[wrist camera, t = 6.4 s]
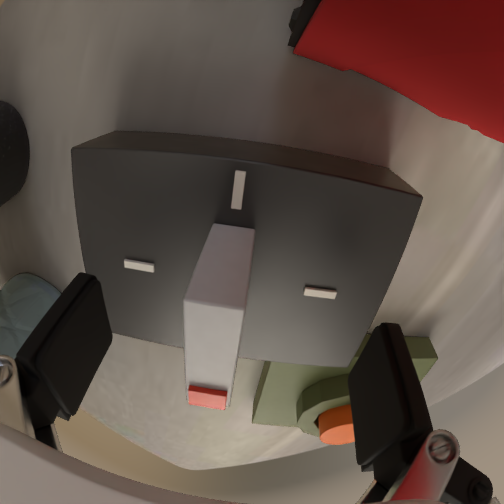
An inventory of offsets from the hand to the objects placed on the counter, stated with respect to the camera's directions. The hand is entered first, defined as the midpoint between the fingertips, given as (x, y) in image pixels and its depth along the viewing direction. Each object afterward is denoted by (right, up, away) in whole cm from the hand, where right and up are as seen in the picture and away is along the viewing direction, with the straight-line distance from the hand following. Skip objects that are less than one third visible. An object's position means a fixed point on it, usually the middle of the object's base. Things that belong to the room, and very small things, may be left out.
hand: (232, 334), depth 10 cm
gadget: (0, +4, +6) cm, 7 cm away
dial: (0, +2, +3) cm, 3 cm away
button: (+7, -9, +9) cm, 15 cm away
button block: (+7, -7, +12) cm, 16 cm away
